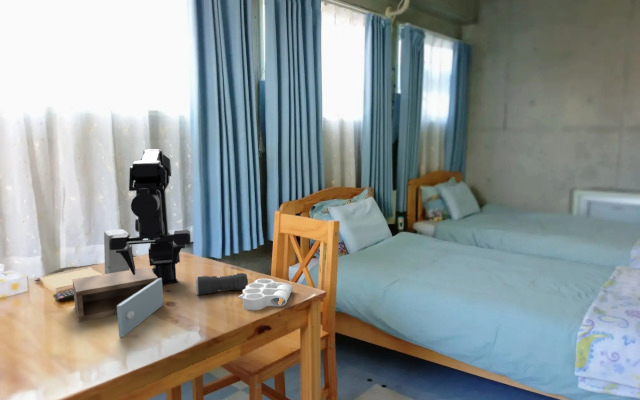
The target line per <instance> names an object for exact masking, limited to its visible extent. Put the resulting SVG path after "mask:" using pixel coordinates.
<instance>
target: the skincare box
mask: <svg viewBox="0 0 640 400" xmlns="http://www.w3.org/2000/svg"><path fill="white" fill-rule="evenodd" d="M117 234H129V233H128V232H127V230H124V229H122V228H121V229H108V230H107V229H106V230H103V236H104V237H103V240H104V243H103V245H104V246H103V247H104V250H103V251H104V274H109V273H115V272H121V271H127V270H130V268H129V266H128V264H127V262H126V261H125V259H124V258H123V256H122V255H121V254H120V253H116V250H110V247H109V240H110V239H111V238H112V237H113V236H114V235H117Z"/></svg>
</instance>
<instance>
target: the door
mask: <svg viewBox="0 0 640 400" xmlns="http://www.w3.org/2000/svg"><path fill="white" fill-rule="evenodd" d="M163 293H164V292H163V285H162V278H158V279H157V280H155V281H153V282H152V283H150V284H149V285H147V286H146V287H144V288H143V289H141V290H140V291H138V292H137V293H135V294H134V295H132V296H131V297H129V298H128V299H126V300H125V301H123V302H122V303H120V304H119V305H117V314H116V315H117V328H118V337H120V338H121V337H123V338H124V337H125V336H126V335H127V334H128V333H130V332H132V331H133V330H134V329H135V328H137V326H138V325H140V324H142V322H143V321H145V320H146V319H147V318H148V317H150V316H151V315H152V314H154V313H155V312H156V311H157V310H159V308H161V307H162V306H164V294H163Z"/></svg>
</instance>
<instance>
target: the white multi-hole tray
mask: <svg viewBox="0 0 640 400" xmlns="http://www.w3.org/2000/svg"><path fill="white" fill-rule="evenodd" d="M293 289H294V287H293V285H292V284H289V283H287V282H277V281H274V279H272V278H258V279H255V280H254V282H251V283H249V284H248V285H247V286H246V289H244V290H242V294H240V295H239V296H237V298H239V299H241V300H242V308H243V309H244V310H247V311H258V310H262V309H265V308H266V306H267V307H283V306H285V305H286V304H287V302H288V299H289V297H290V295H291V293H292V291H293ZM279 298H282V299H284V301H283V302H282V304H281V305H279V304H278V301H279ZM278 305H279V306H278Z"/></svg>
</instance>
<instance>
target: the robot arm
mask: <svg viewBox="0 0 640 400" xmlns="http://www.w3.org/2000/svg"><path fill="white" fill-rule="evenodd" d="M170 177H172V165H171V158H169V157H167V156H166V155H165V154H164V152H163V149H160V148H157V149H156V148H151V149H150V148H149V149H148V148H147V149H145V150H143V155H142V158H140V160H137V161H136V160H135V161H133V162H132V166H130V167H129V180H128V191H129V192H135V197H133V199H132V200H131V203H130V209H131V210H130V211H132V213H133V214H134V215H135V216H136V217H137V218H135V222H134V229H135V232H136V233H138V236H131V235H130V233H128V234H117V235H114V236H113V237H112V238H111V239H110V240H109V247H110V250H116V253H120V254H121V255H122V256H123V258H124V259H125V261H126V262H127V264H128V266H129V270H131V272H132V273H133V275H135V269H136V266H135V260H134V255H133V245H143V244H147V245H148V244H150V245H149V246H148V261H149V266H150V267H153V268H151V271H152V272H153V273H154V274H155V275H156V276H157V277H158V278H162V286H163V285H167V284H168V285H169V284H173V283H178V281H179V280H178V279H177V272H176V271H177V270H176V268H177V267H176V265H177V264H178V263H180V262H181V258H180V252H181V250H182V249H185V248H186V246H187V245H191V241H192V240H191V237H192V235H191V231H190V230H189V229H181V230H180V229H179V230H174V232H173V234H171V233H170V232H169V223H168V222H169V221H168V209H167V198H166V197H167V196H166V195H167V193H166V190H167V187H168V185H169V184H170V179H171V178H170Z"/></svg>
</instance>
